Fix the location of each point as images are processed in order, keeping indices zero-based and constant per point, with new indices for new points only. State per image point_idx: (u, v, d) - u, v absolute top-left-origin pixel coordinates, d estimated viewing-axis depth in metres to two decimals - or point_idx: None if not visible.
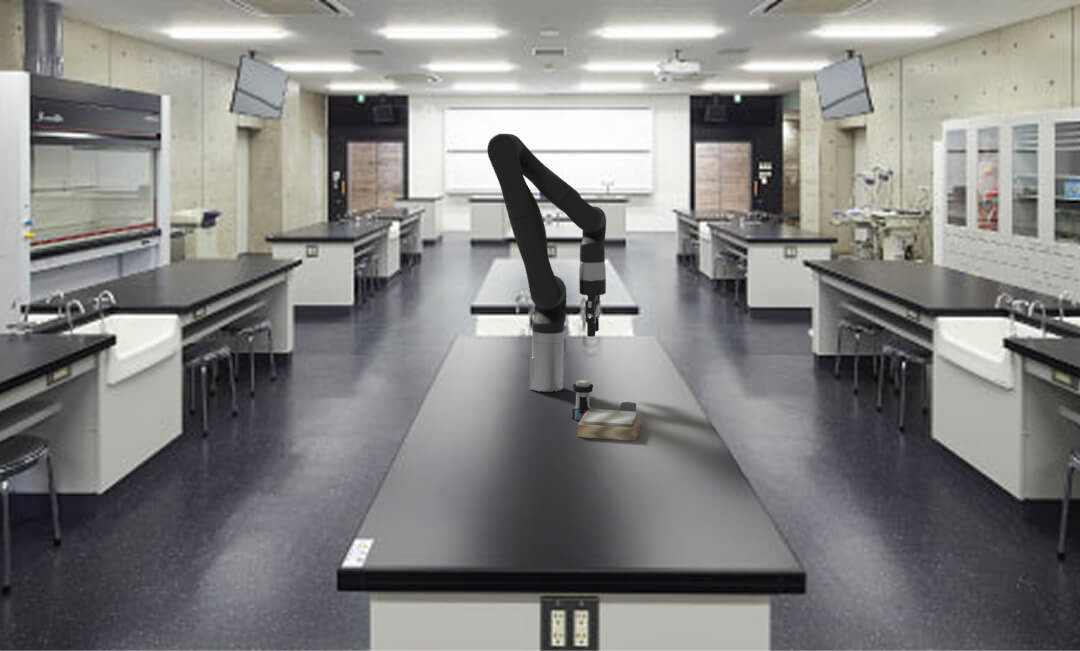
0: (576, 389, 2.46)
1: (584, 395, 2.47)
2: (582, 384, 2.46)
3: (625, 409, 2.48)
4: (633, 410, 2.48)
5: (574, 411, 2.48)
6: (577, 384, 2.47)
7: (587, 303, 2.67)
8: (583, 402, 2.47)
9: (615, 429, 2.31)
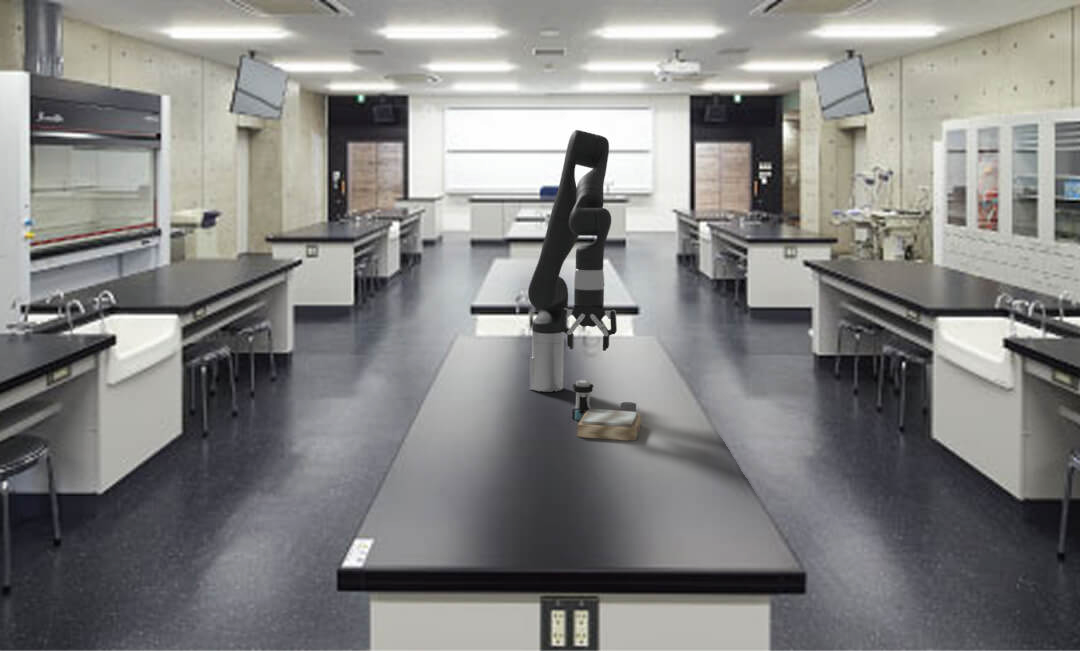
0: (576, 389, 2.46)
1: (584, 395, 2.47)
2: (582, 384, 2.46)
3: (625, 409, 2.48)
4: (633, 410, 2.48)
5: (574, 411, 2.48)
6: (577, 384, 2.47)
7: (615, 313, 2.43)
8: (583, 402, 2.47)
9: (615, 429, 2.31)
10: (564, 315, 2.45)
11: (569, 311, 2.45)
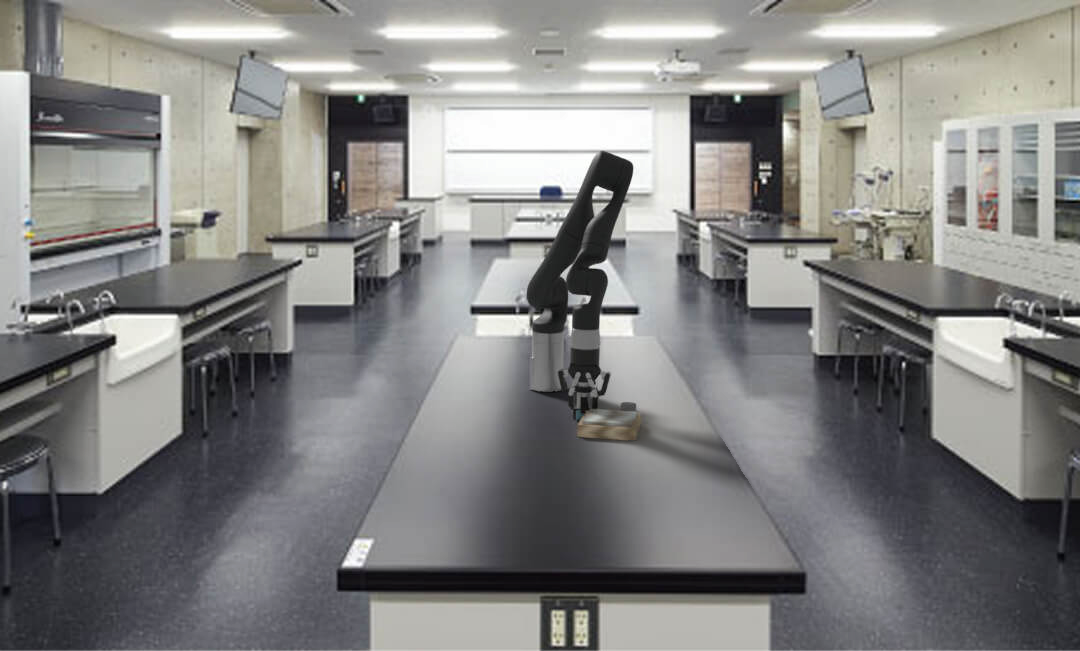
0: (577, 389, 2.46)
1: (585, 395, 2.47)
2: (583, 384, 2.46)
3: (625, 409, 2.48)
4: (633, 410, 2.48)
5: (575, 411, 2.48)
6: (578, 384, 2.47)
7: (609, 376, 2.45)
8: (584, 403, 2.47)
9: (615, 429, 2.31)
10: (561, 376, 2.48)
11: (565, 371, 2.48)
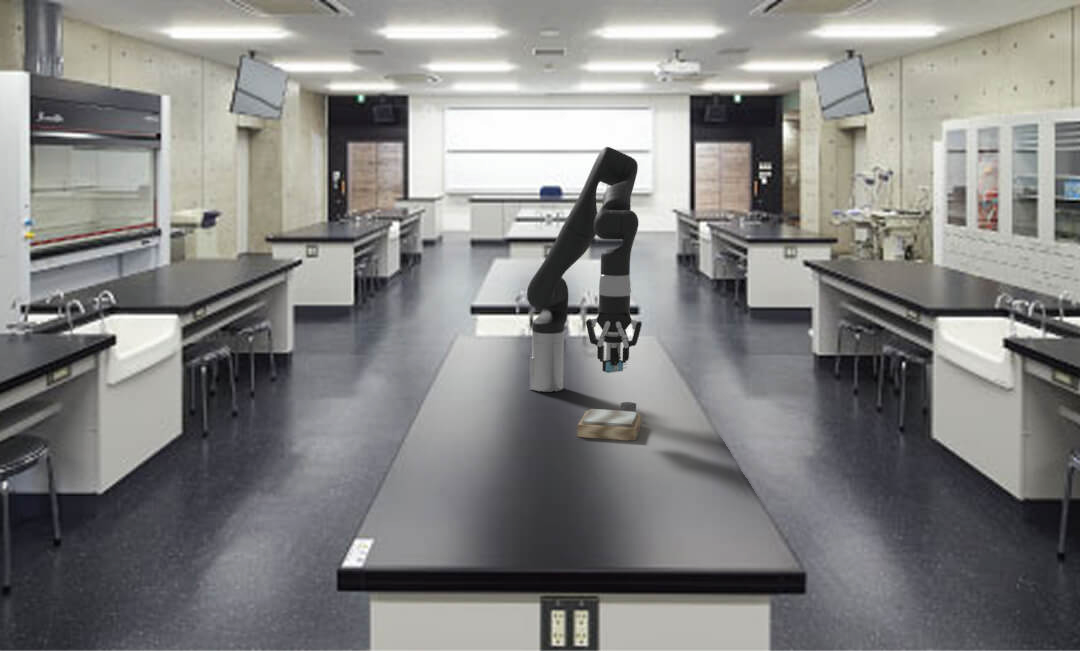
0: (607, 339, 2.32)
1: (615, 346, 2.34)
2: (613, 334, 2.32)
3: (625, 409, 2.48)
4: (633, 410, 2.48)
5: (605, 363, 2.34)
6: (608, 334, 2.33)
7: (641, 325, 2.32)
8: (614, 354, 2.34)
9: (615, 429, 2.31)
10: (590, 326, 2.34)
11: (594, 321, 2.34)
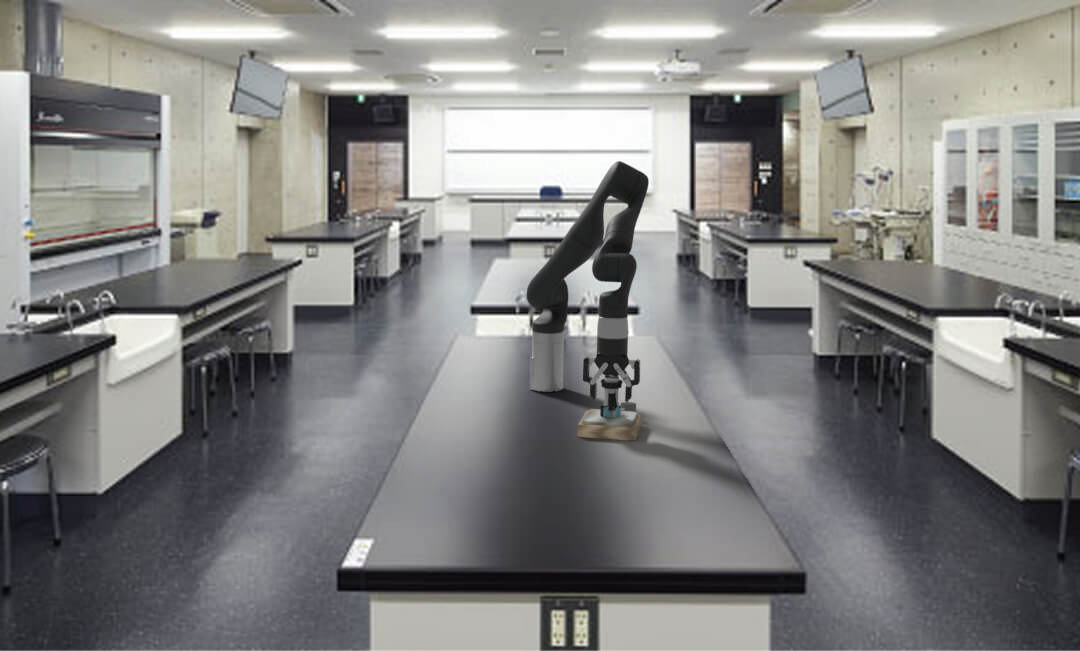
0: (605, 385, 2.34)
1: (613, 391, 2.36)
2: (611, 380, 2.34)
3: (625, 409, 2.48)
4: (633, 410, 2.48)
5: (603, 408, 2.36)
6: (606, 380, 2.35)
7: (639, 363, 2.33)
8: (612, 399, 2.36)
9: (615, 429, 2.31)
10: (586, 364, 2.35)
11: (591, 360, 2.36)
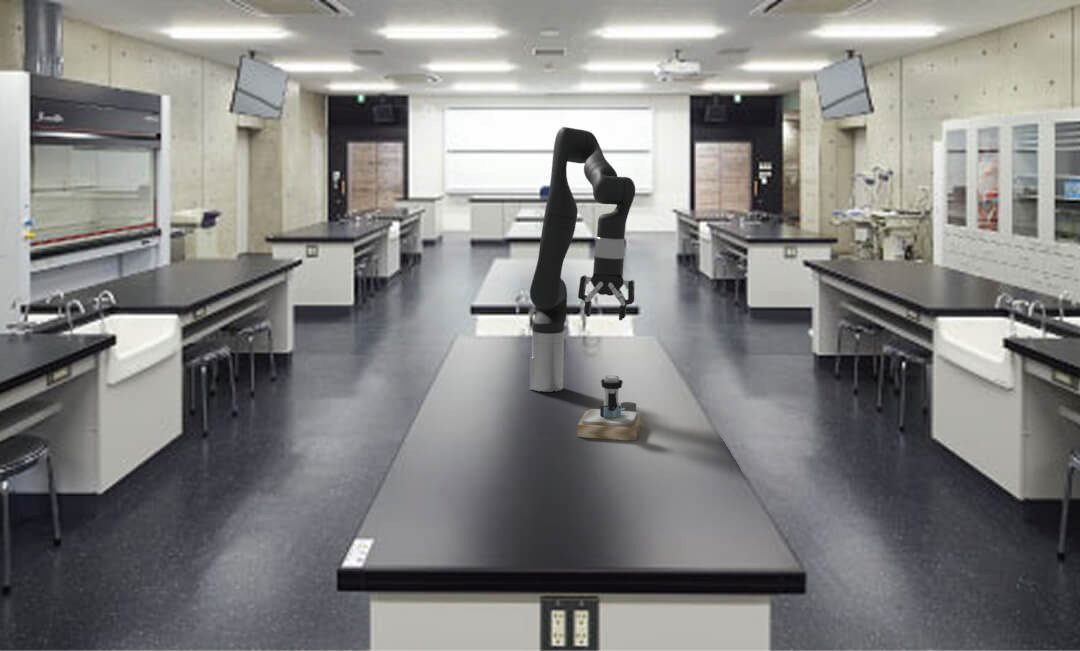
0: (605, 385, 2.34)
1: (613, 391, 2.36)
2: (611, 380, 2.34)
3: (625, 409, 2.48)
4: (633, 410, 2.48)
5: (603, 408, 2.36)
6: (606, 380, 2.35)
7: (633, 283, 2.43)
8: (612, 399, 2.36)
9: (615, 429, 2.31)
10: (583, 282, 2.46)
11: (588, 278, 2.46)
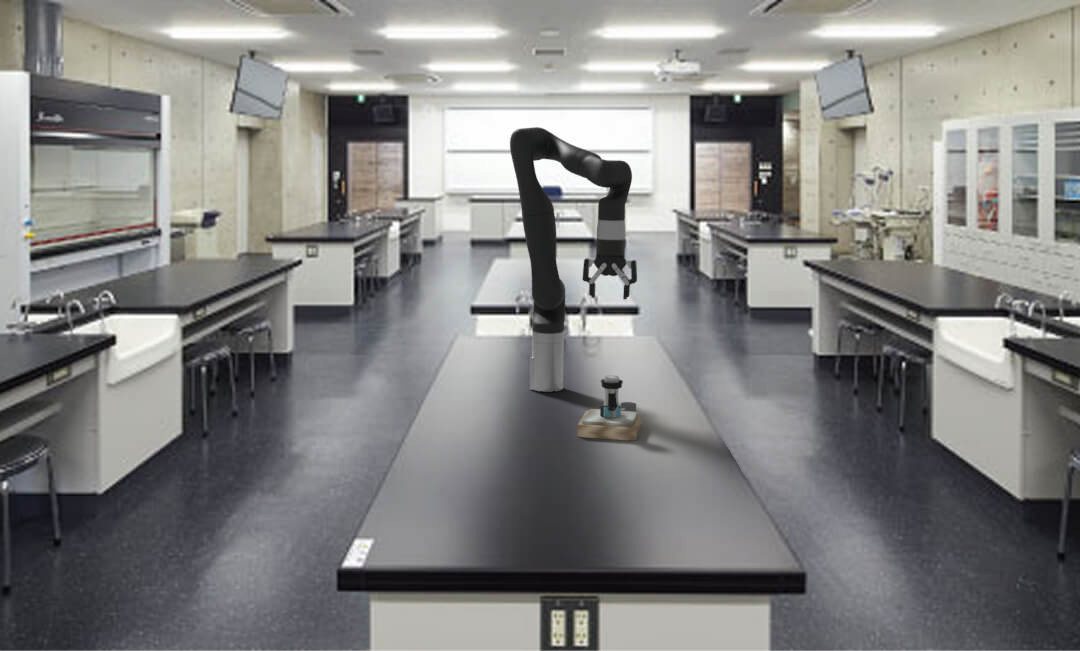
0: (605, 385, 2.34)
1: (613, 391, 2.36)
2: (611, 380, 2.34)
3: (625, 409, 2.48)
4: (633, 410, 2.48)
5: (603, 408, 2.36)
6: (606, 380, 2.35)
7: (635, 262, 2.52)
8: (612, 399, 2.36)
9: (615, 429, 2.31)
10: (586, 265, 2.54)
11: (591, 261, 2.54)
